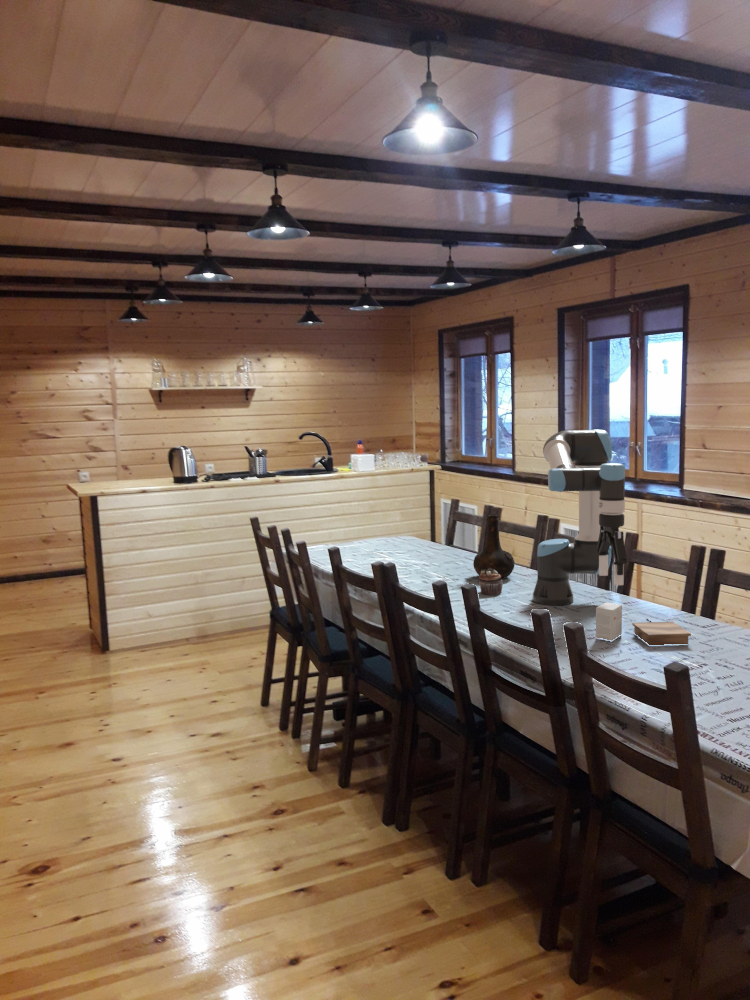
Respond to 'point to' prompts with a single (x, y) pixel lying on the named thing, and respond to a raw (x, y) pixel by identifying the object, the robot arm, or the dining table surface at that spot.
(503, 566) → the glass bottle
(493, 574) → the cupcake
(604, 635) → the small box
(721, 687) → the dining table surface
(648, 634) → the stand
